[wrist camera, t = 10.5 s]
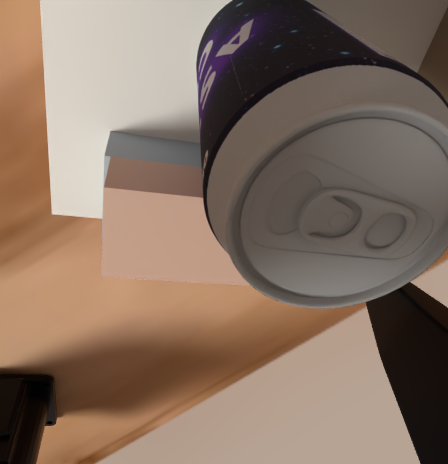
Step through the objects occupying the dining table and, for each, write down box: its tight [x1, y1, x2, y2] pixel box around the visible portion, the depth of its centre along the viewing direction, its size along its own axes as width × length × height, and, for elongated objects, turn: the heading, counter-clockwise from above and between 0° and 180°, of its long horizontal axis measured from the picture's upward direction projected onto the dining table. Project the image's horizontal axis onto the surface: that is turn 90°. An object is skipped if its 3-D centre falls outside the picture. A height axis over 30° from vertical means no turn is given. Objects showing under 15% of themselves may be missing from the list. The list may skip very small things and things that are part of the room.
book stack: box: [101, 131, 251, 286], centre depth 19 cm, size 4×13×5 cm, turn 79°
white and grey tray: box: [40, 0, 448, 219], centre depth 17 cm, size 16×18×6 cm
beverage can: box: [196, 0, 448, 309], centre depth 13 cm, size 6×6×12 cm
